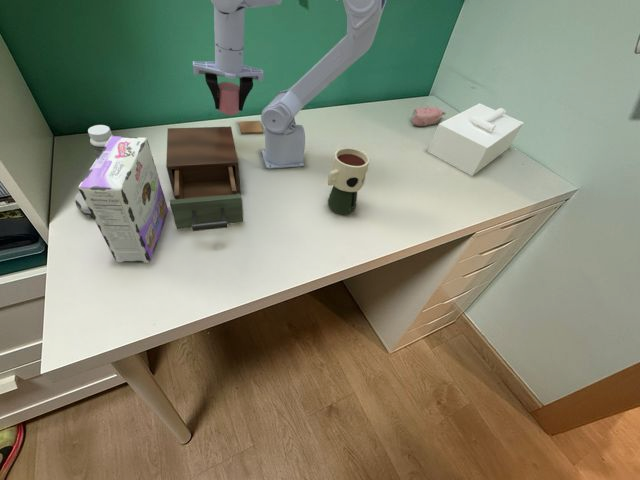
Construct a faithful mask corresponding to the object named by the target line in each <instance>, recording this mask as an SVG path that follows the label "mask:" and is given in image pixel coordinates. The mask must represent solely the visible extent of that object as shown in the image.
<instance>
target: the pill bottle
mask: <svg viewBox="0 0 640 480" xmlns="http://www.w3.org/2000/svg"><path fill="white" fill-rule="evenodd" d="M87 133H88V136H89V138H90V139H89V142H90V145H91V148H92V150H93V152H94V154H95V156H96V158H97V157H98V156H99V154H100V153H101V151H102V150H103V148H104V147H105V145H106V143H107V142H108V140H109V138H110V137H111V136H114V135H113V134H112V130H111V128H110V126H108V125H105V124H95V125H93V126H90V127H89V128H88V129H87Z"/></svg>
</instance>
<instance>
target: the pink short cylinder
mask: <svg viewBox="0 0 640 480" xmlns="http://www.w3.org/2000/svg"><path fill="white" fill-rule="evenodd" d="M218 103H219V109H217V110H218V111H219V112H220V113H221V114H223V115H226V116H227V115H228V116H234V115H238V114H239V112H240V111H239V103H240V85H238V84H237V83H234V82H232V81H221V82H218Z"/></svg>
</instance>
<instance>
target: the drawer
mask: <svg viewBox="0 0 640 480" xmlns="http://www.w3.org/2000/svg"><path fill="white" fill-rule="evenodd" d="M174 196H175V198H174V199H169V206H170V210H171V213H172V214H171V215H172V217H173V221H174V225H175V227H176V230H183V229H191V231H192V232H199V231H208V230H209V231H210V230H216V229H225V228H226V229H227V228H229V225H230V224H239V223H244V221H245V220H244V209H243V195H242V193H238V194H237V190H236V185H235V179H234V174H233V168H232V166H220V167H203V168H186V169H175V191H174V194H173V197H174Z"/></svg>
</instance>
